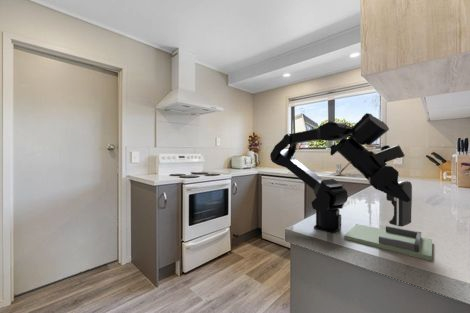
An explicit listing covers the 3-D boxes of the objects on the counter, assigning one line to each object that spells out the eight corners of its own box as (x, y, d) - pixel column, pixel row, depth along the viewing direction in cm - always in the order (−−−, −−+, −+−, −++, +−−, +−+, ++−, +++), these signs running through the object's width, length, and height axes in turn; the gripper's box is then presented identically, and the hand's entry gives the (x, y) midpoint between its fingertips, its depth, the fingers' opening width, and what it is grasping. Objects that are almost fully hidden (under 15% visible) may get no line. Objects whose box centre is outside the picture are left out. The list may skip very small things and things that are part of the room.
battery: (395, 219, 60) (395, 179, 60) (411, 223, 57) (412, 180, 57) (384, 223, 56) (384, 180, 56) (401, 228, 53) (402, 182, 53)
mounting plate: (344, 238, 60) (344, 229, 60) (356, 227, 69) (356, 219, 69) (431, 261, 47) (431, 249, 47) (432, 243, 57) (432, 233, 57)
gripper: (388, 132, 50) (450, 182, 45) (377, 137, 66) (422, 174, 61) (349, 164, 54) (403, 214, 49) (348, 161, 70) (388, 198, 65)
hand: (405, 198), depth 56 cm, fingers closed on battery, 7 cm apart
